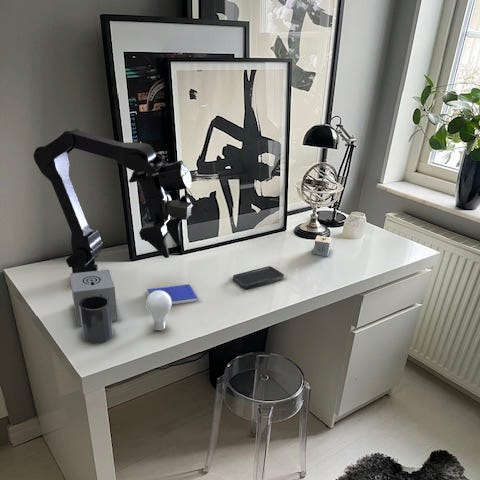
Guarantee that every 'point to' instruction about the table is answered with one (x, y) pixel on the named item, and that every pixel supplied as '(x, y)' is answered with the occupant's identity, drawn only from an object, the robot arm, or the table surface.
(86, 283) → the icon cube
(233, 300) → the table surface
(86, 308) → the pen cup
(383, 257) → the table surface
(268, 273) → the phone
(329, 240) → the dice cube
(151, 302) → the lightbulb
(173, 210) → the robot arm
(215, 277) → the table surface
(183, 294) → the hard drive
